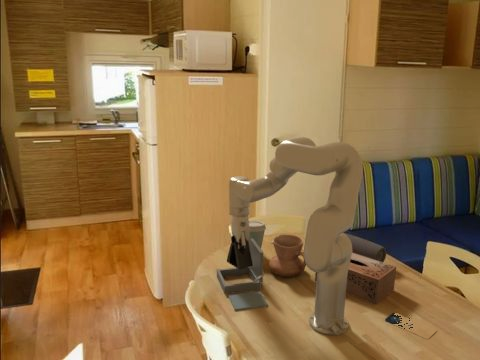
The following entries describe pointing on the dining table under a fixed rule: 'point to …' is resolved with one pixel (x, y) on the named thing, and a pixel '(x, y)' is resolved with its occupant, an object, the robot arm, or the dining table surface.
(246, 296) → the slate mat
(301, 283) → the dining table surface
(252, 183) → the robot arm
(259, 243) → the disposable coffee cup
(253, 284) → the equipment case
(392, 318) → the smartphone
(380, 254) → the bluetooth speaker
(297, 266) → the ceramic jug
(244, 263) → the phone stand
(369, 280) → the tissue box cover
